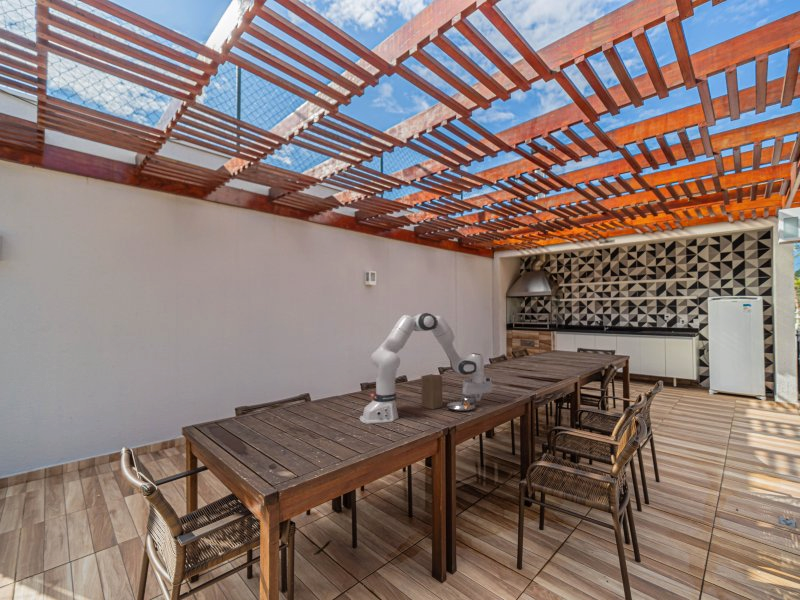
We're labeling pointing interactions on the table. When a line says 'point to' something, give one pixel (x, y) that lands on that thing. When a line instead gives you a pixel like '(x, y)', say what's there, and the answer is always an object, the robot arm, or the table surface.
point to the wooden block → (431, 391)
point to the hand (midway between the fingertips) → (477, 400)
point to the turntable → (460, 406)
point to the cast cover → (467, 399)
